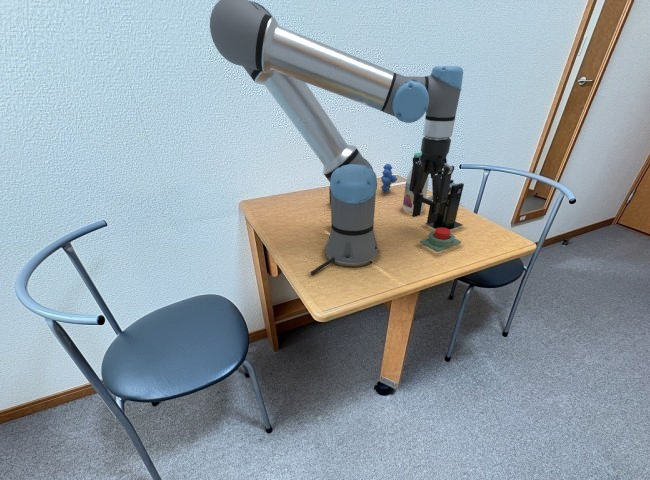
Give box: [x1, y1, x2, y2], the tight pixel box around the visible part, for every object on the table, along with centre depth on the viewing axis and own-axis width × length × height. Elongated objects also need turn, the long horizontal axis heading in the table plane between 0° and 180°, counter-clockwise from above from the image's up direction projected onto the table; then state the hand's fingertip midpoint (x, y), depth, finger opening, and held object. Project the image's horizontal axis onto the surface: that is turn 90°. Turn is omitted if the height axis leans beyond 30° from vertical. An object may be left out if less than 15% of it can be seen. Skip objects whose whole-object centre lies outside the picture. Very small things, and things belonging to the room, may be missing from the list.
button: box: [434, 227, 452, 240], centre depth 96 cm, size 4×4×2 cm
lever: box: [417, 182, 457, 207], centre depth 99 cm, size 13×6×2 cm, turn 123°
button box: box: [419, 230, 462, 253], centre depth 97 cm, size 10×7×4 cm
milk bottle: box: [402, 152, 430, 214], centre depth 113 cm, size 8×8×20 cm
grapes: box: [380, 163, 398, 194], centre depth 131 cm, size 12×7×12 cm, turn 165°
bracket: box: [424, 179, 465, 231], centre depth 104 cm, size 10×8×15 cm
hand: (423, 218), depth 101 cm, fingers closed on lever, 5 cm apart
